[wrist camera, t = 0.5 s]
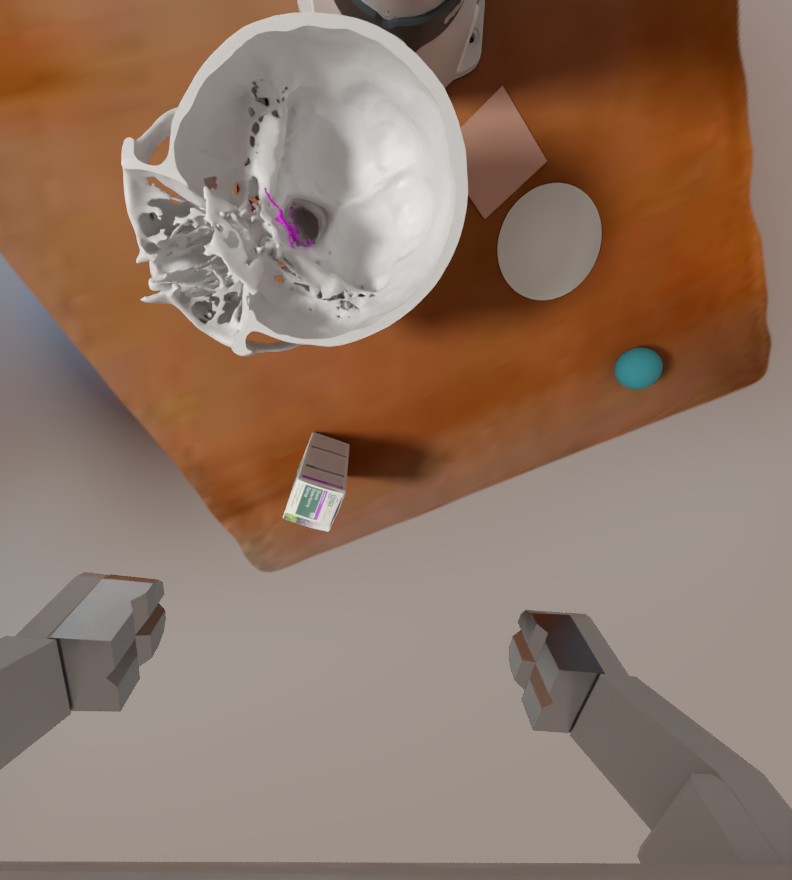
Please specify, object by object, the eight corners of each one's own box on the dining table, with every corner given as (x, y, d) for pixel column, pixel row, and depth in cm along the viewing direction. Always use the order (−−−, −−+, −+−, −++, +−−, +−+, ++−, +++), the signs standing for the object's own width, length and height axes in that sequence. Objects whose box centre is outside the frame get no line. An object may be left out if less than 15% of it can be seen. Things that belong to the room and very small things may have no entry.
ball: (615, 340, 53) (641, 347, 48) (651, 348, 54) (680, 355, 49) (600, 379, 55) (623, 389, 50) (634, 386, 56) (661, 397, 51)
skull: (372, 97, 42) (374, -92, 21) (451, 264, 49) (513, 250, 27) (188, 227, 45) (28, 179, 24) (285, 367, 52) (227, 425, 31)
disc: (516, 170, 45) (516, 169, 45) (617, 198, 47) (618, 197, 47) (484, 288, 50) (484, 288, 50) (577, 309, 52) (578, 309, 51)
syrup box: (312, 430, 56) (293, 477, 42) (351, 443, 57) (346, 493, 43) (300, 464, 57) (279, 519, 44) (338, 476, 59) (329, 534, 45)
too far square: (437, 150, 44) (438, 150, 44) (502, 85, 42) (502, 85, 42) (484, 219, 47) (484, 219, 47) (546, 161, 45) (547, 161, 45)
